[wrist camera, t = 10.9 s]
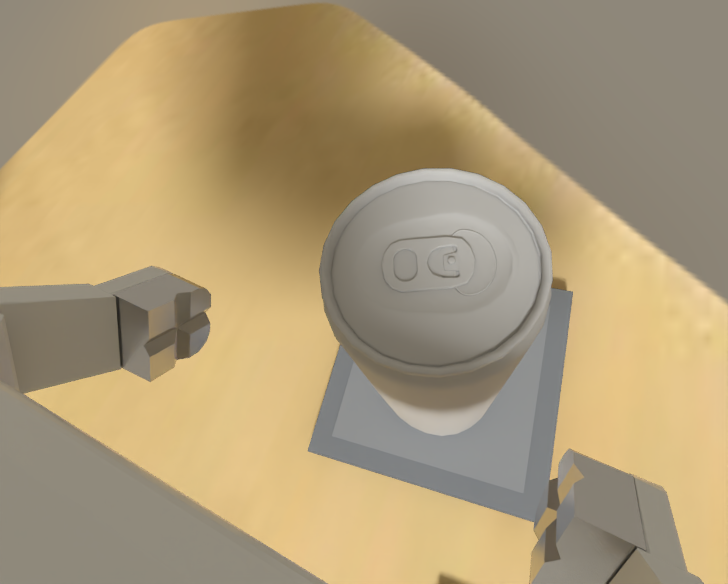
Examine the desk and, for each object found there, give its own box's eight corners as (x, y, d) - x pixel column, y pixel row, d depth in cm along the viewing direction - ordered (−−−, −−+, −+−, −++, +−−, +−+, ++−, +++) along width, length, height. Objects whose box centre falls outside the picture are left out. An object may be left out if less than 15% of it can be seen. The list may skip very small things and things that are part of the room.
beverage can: (499, 436, 18) (586, 378, 7) (385, 438, 19) (306, 388, 8) (486, 327, 20) (538, 148, 9) (382, 332, 21) (316, 174, 10)
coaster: (312, 452, 20) (307, 450, 19) (370, 261, 23) (367, 254, 22) (539, 522, 17) (544, 525, 17) (568, 298, 21) (573, 290, 20)
